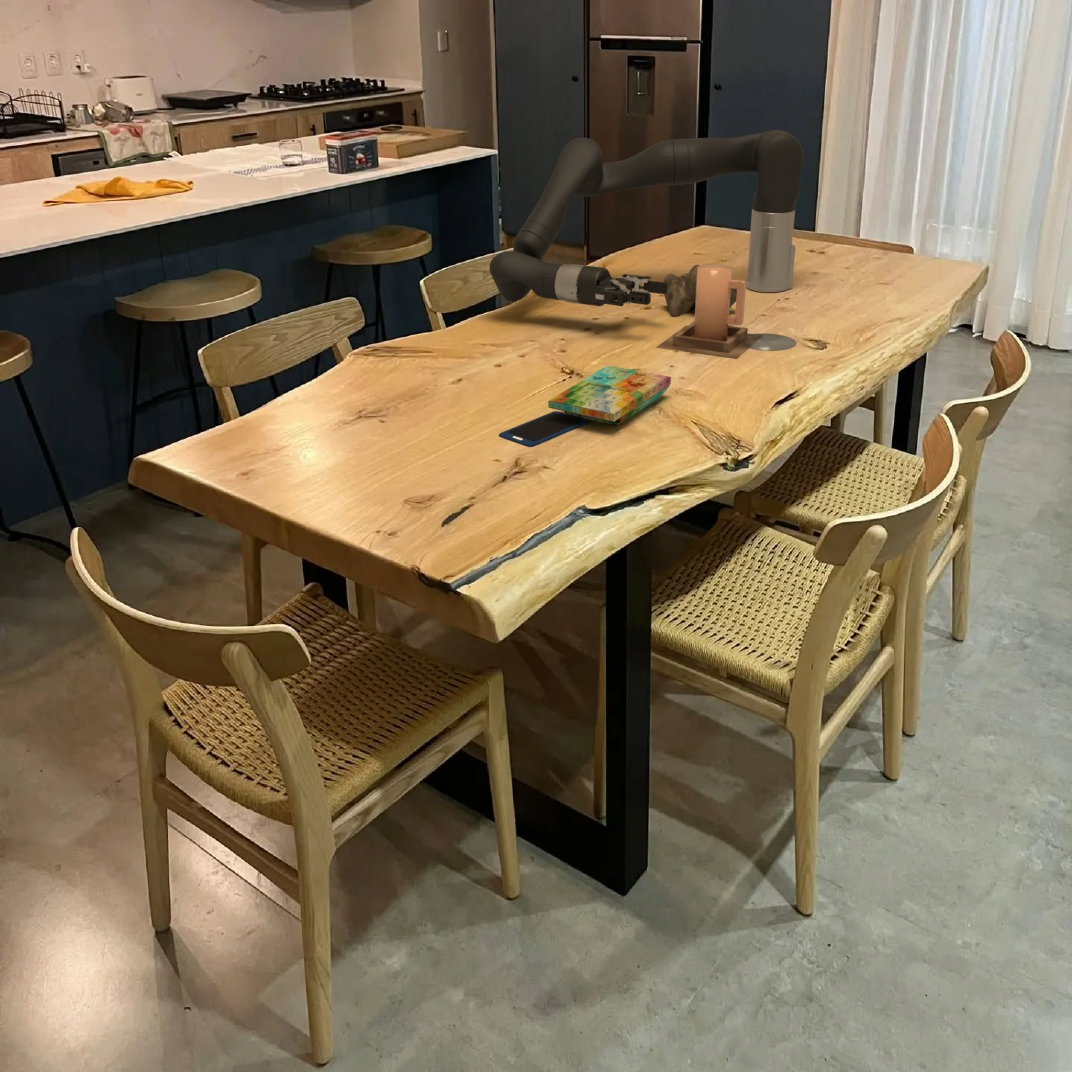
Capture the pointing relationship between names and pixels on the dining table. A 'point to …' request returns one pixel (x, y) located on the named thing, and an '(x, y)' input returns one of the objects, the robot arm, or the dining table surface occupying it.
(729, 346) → the holder
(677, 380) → the dining table surface
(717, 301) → the peach orange tall mug
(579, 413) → the puzzle game
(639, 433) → the dining table surface
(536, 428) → the cell phone
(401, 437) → the dining table surface
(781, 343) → the grey disc
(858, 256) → the dining table surface
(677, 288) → the decorative stone
